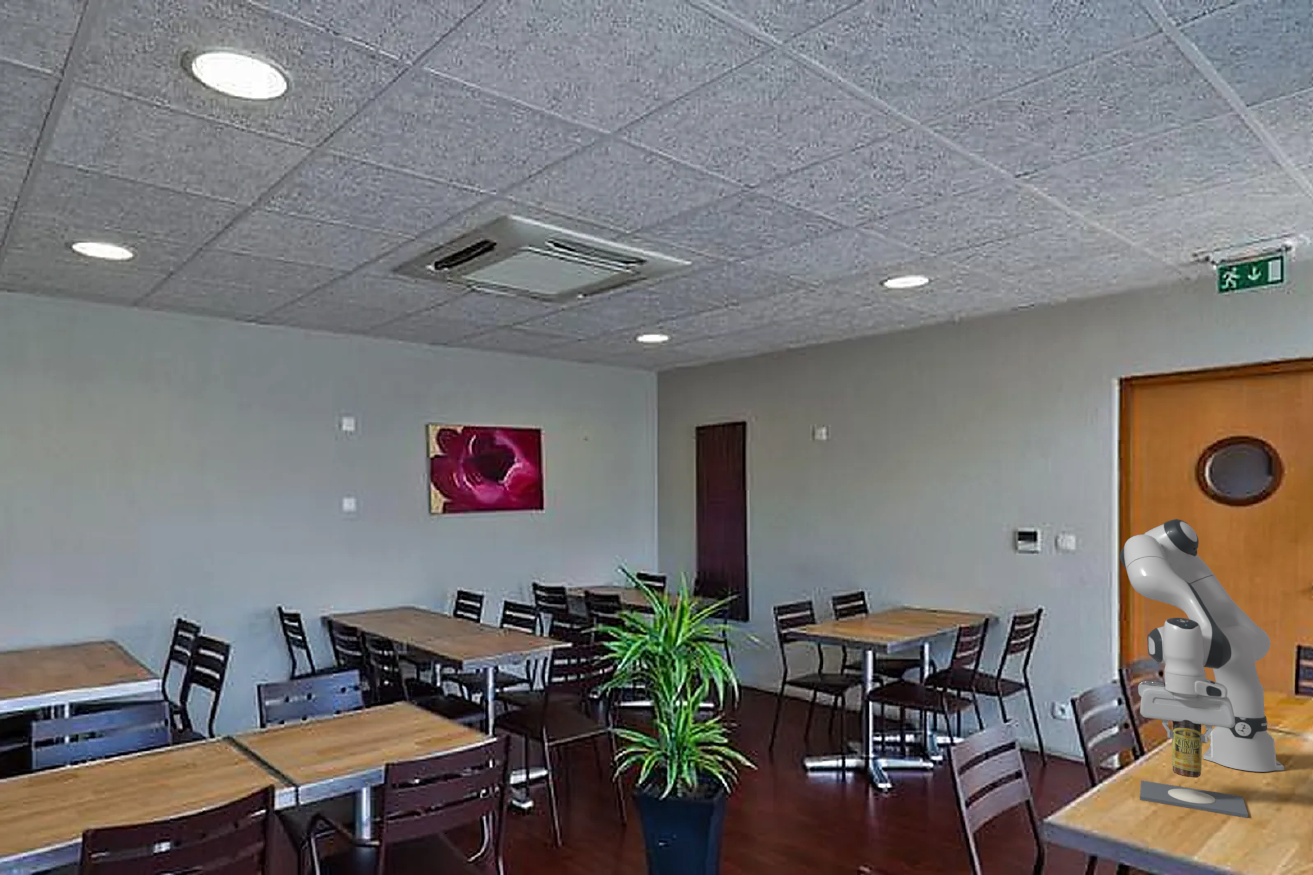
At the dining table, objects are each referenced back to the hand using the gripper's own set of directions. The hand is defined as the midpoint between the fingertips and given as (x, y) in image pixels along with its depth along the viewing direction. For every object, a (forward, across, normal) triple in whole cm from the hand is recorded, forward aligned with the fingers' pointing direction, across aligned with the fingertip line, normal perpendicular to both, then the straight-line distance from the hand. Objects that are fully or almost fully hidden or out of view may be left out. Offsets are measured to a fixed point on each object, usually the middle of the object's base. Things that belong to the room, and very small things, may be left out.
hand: (1187, 740), depth 208 cm
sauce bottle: (+9, 0, 0) cm, 9 cm away
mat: (+14, 0, 0) cm, 14 cm away
